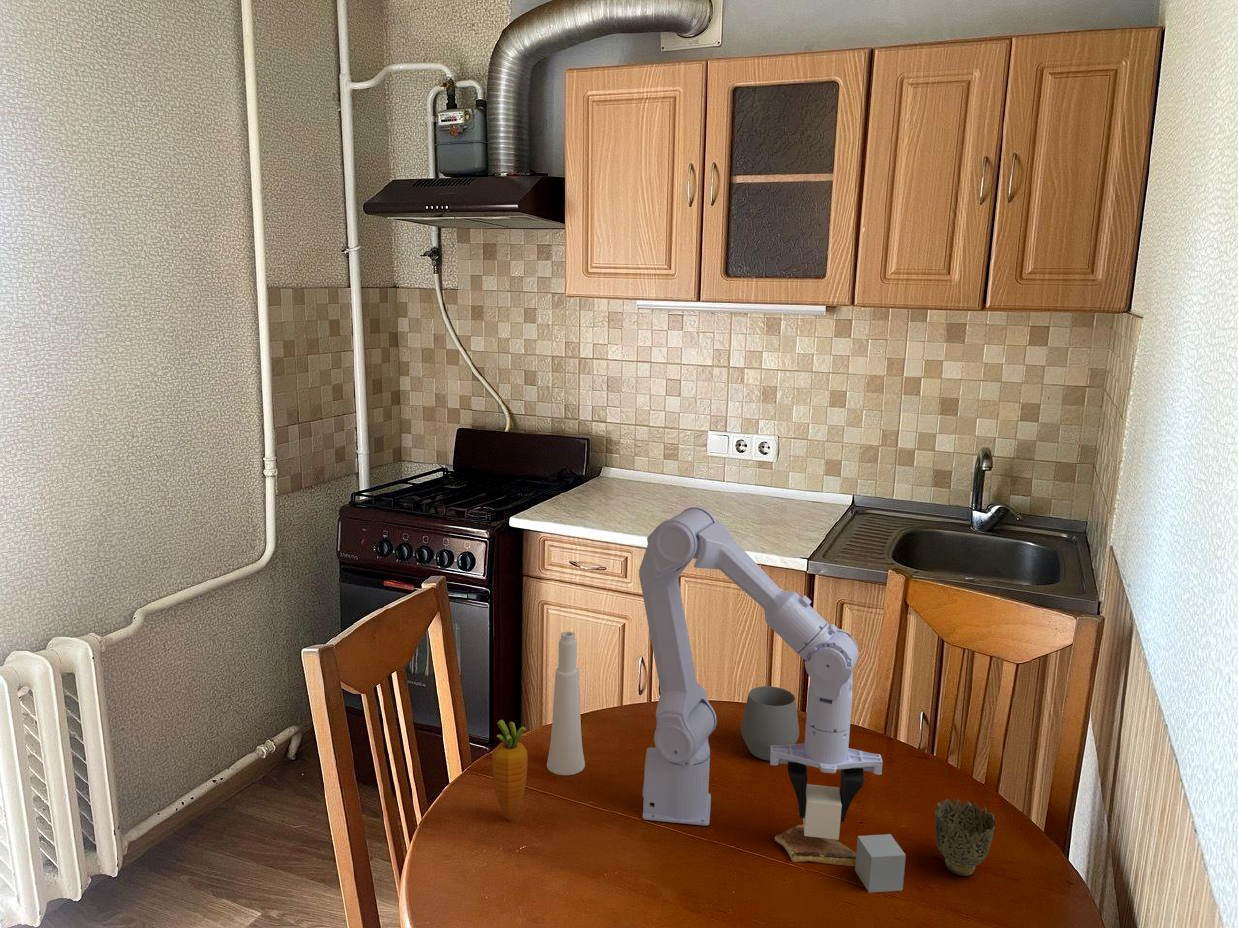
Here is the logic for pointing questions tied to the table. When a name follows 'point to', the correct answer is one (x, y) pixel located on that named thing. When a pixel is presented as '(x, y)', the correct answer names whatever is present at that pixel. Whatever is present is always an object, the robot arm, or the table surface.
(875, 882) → the slate block
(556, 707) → the cosmetic bottle
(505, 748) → the carrot
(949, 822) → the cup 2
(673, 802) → the robot arm
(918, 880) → the table surface
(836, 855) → the shard
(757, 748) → the cup
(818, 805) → the cream block
